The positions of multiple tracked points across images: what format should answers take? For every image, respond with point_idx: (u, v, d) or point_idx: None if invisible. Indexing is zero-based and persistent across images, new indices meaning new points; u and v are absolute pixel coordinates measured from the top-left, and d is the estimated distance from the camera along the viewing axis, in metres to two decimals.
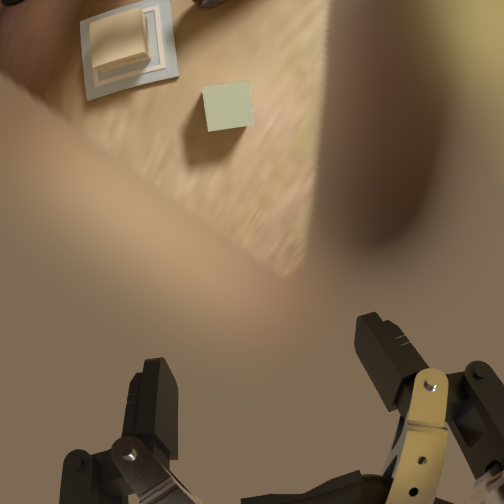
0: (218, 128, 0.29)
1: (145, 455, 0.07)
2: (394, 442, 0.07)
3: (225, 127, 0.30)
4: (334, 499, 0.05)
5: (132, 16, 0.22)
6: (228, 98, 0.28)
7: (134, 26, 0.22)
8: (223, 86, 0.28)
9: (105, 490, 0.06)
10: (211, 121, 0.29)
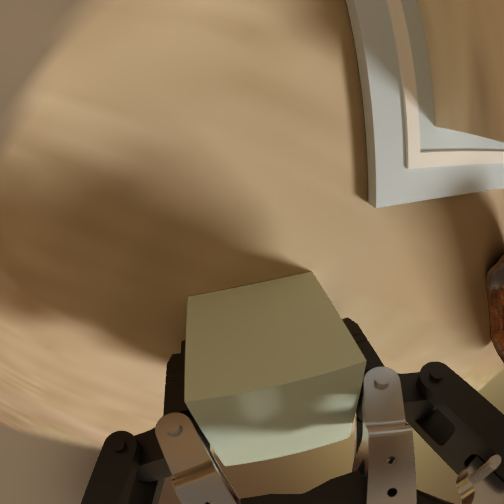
0: (202, 421, 0.07)
1: (191, 435, 0.07)
2: (357, 444, 0.08)
3: (208, 432, 0.08)
4: (334, 499, 0.05)
5: None
6: (310, 423, 0.08)
7: None
8: (350, 405, 0.08)
9: (142, 475, 0.07)
10: (229, 405, 0.07)
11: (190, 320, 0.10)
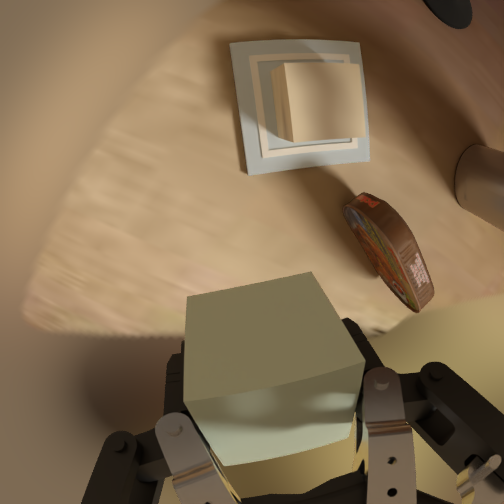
0: (201, 421, 0.07)
1: (191, 435, 0.07)
2: (357, 444, 0.08)
3: (207, 432, 0.08)
4: (334, 499, 0.05)
5: (353, 126, 0.20)
6: (309, 423, 0.08)
7: (337, 129, 0.20)
8: (349, 406, 0.08)
9: (142, 475, 0.07)
10: (228, 405, 0.07)
11: (189, 320, 0.10)
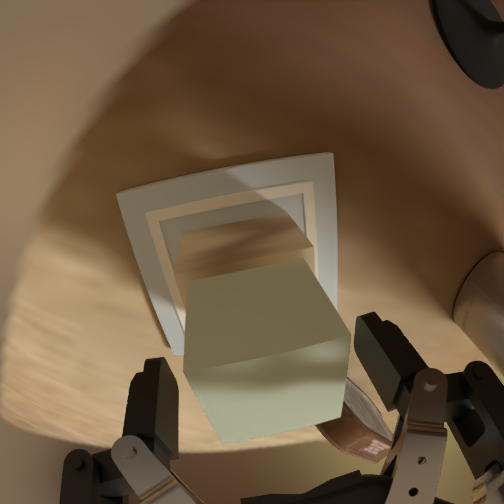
0: (199, 392, 0.08)
1: (146, 455, 0.07)
2: (393, 442, 0.07)
3: (205, 405, 0.09)
4: (334, 499, 0.05)
5: None
6: (301, 397, 0.09)
7: None
8: (339, 381, 0.09)
9: (106, 490, 0.06)
10: (224, 375, 0.08)
11: (190, 301, 0.11)
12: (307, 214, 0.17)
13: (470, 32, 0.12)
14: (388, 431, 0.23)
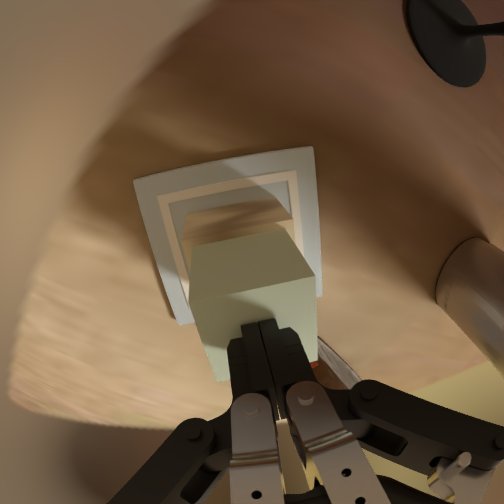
0: (200, 323, 0.12)
1: (266, 419, 0.07)
2: (303, 460, 0.08)
3: (204, 336, 0.12)
4: None
5: None
6: None
7: None
8: (311, 320, 0.12)
9: (205, 466, 0.07)
10: (219, 306, 0.11)
11: (194, 259, 0.14)
12: (292, 198, 0.20)
13: (441, 37, 0.15)
14: None
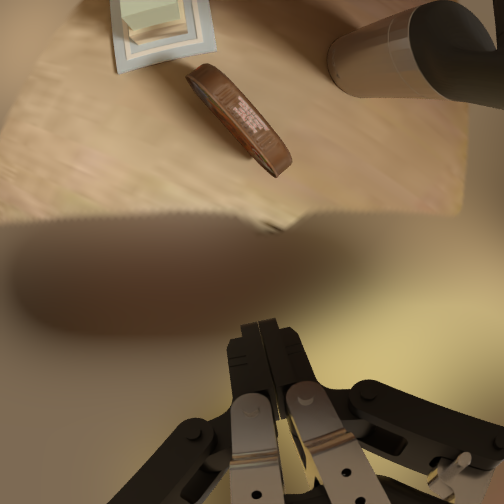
0: None
1: (266, 419, 0.07)
2: (303, 460, 0.08)
3: None
4: None
5: None
6: None
7: None
8: None
9: (205, 466, 0.07)
10: None
11: None
12: None
13: None
14: None
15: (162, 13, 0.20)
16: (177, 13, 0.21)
